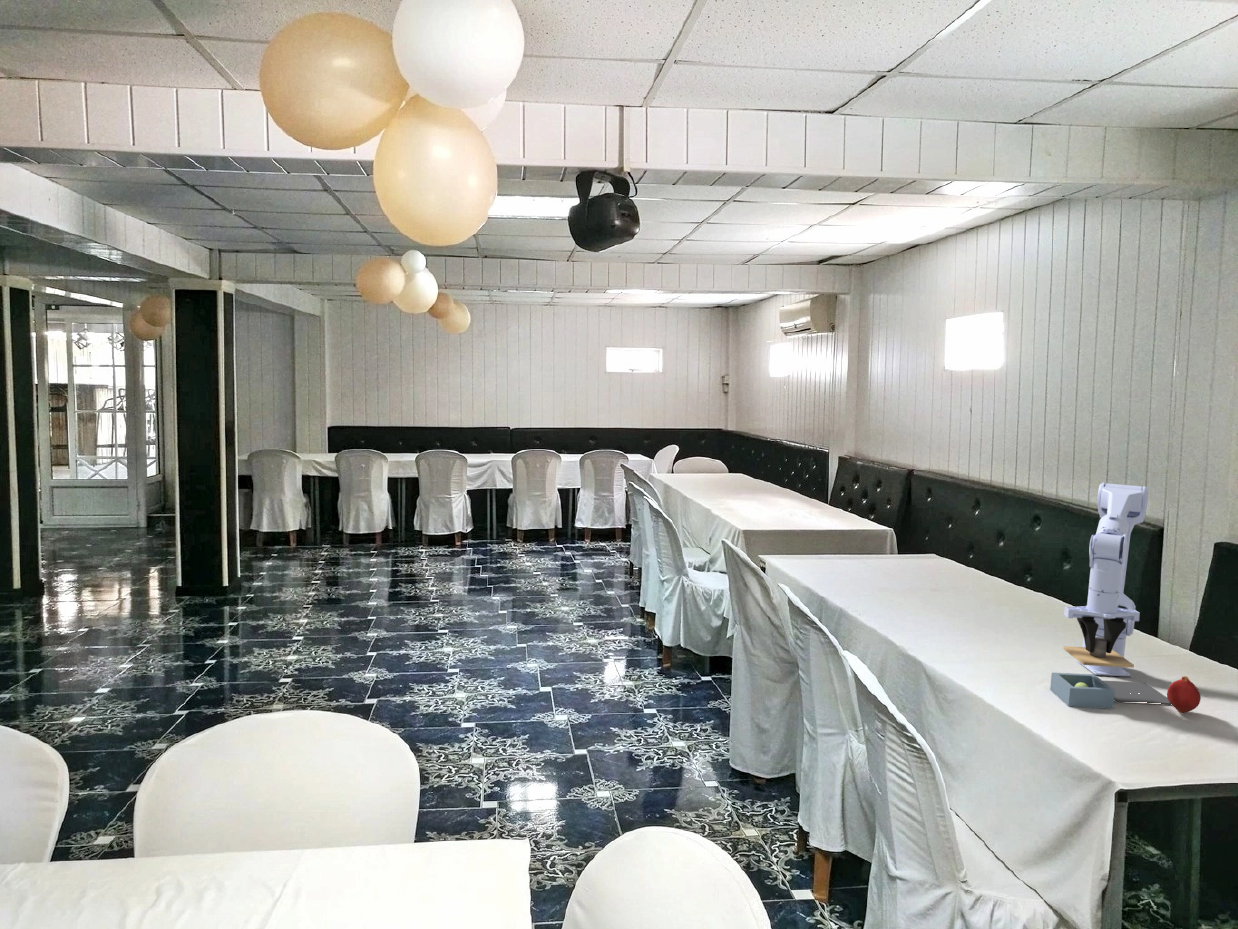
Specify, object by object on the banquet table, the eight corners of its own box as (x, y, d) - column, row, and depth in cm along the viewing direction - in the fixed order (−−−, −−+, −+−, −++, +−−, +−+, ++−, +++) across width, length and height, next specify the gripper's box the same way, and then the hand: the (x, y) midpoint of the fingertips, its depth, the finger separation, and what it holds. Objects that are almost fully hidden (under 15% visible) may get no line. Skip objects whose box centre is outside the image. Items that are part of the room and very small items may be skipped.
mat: (1090, 681, 193) (1090, 679, 193) (1145, 684, 192) (1145, 682, 192) (1116, 702, 181) (1117, 700, 181) (1175, 705, 180) (1175, 703, 180)
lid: (1063, 648, 188) (1064, 630, 187) (1110, 651, 187) (1112, 632, 187) (1083, 665, 178) (1085, 645, 178) (1133, 667, 177) (1135, 648, 177)
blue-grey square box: (1050, 690, 187) (1051, 672, 187) (1092, 692, 187) (1094, 674, 186) (1068, 706, 178) (1070, 688, 178) (1113, 708, 178) (1114, 690, 177)
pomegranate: (1167, 705, 180) (1171, 668, 179) (1199, 712, 177) (1204, 675, 176) (1163, 713, 176) (1167, 676, 175) (1196, 721, 172) (1201, 683, 171)
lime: (1071, 692, 184) (1072, 680, 184) (1084, 693, 184) (1085, 680, 183) (1077, 697, 181) (1078, 685, 181) (1090, 698, 181) (1092, 685, 181)
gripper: (1077, 593, 177) (1071, 656, 179) (1149, 596, 176) (1143, 659, 178) (1062, 584, 184) (1057, 645, 186) (1132, 587, 183) (1126, 648, 185)
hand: (1098, 651), depth 182 cm, fingers closed on lid, 3 cm apart
